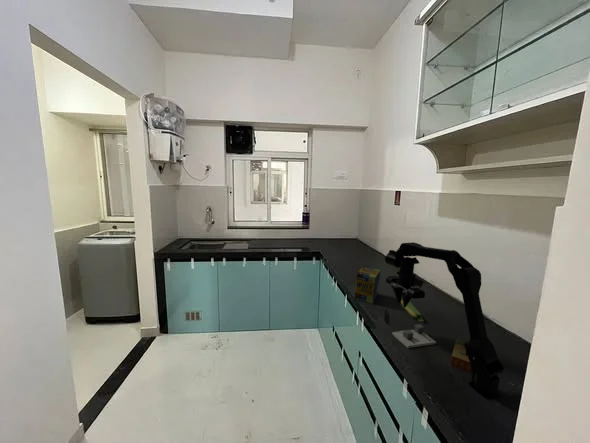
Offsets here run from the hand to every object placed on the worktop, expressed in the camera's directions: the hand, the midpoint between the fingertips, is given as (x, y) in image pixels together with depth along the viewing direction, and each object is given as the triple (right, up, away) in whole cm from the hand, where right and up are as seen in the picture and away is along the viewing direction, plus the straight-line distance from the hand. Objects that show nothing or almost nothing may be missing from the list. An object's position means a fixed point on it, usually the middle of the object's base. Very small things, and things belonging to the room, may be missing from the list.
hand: (402, 304), depth 118 cm
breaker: (+8, -12, +1) cm, 14 cm away
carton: (+19, -17, -14) cm, 29 cm away
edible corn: (+13, -11, +21) cm, 27 cm away
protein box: (-6, -7, +38) cm, 39 cm away
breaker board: (+4, -14, -3) cm, 15 cm away
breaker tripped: (+1, -12, -4) cm, 13 cm away
